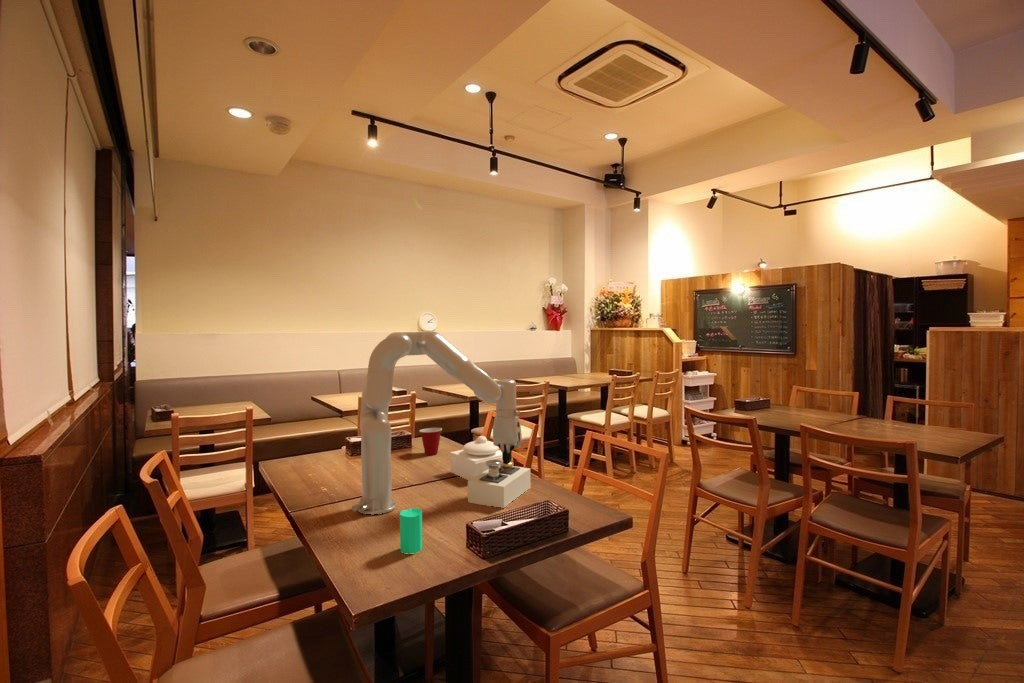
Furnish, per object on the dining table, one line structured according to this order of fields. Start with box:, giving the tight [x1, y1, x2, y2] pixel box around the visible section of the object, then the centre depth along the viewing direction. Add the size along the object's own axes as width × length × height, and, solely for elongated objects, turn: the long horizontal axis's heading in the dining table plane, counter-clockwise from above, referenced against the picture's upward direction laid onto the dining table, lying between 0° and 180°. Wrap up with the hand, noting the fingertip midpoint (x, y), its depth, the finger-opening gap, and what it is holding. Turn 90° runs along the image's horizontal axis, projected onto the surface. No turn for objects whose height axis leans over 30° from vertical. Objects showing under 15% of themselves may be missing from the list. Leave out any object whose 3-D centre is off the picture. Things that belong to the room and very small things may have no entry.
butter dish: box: [449, 435, 503, 481], centre depth 197 cm, size 18×18×16 cm
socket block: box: [467, 465, 532, 509], centre depth 173 cm, size 22×14×8 cm, turn 154°
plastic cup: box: [419, 427, 443, 456], centre depth 228 cm, size 11×11×12 cm
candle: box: [399, 507, 423, 554], centre depth 132 cm, size 6×6×12 cm
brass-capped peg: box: [500, 460, 514, 472], centre depth 177 cm, size 5×5×8 cm
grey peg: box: [486, 460, 501, 480], centre depth 168 cm, size 5×5×8 cm
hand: (507, 462), depth 177 cm, fingers closed
